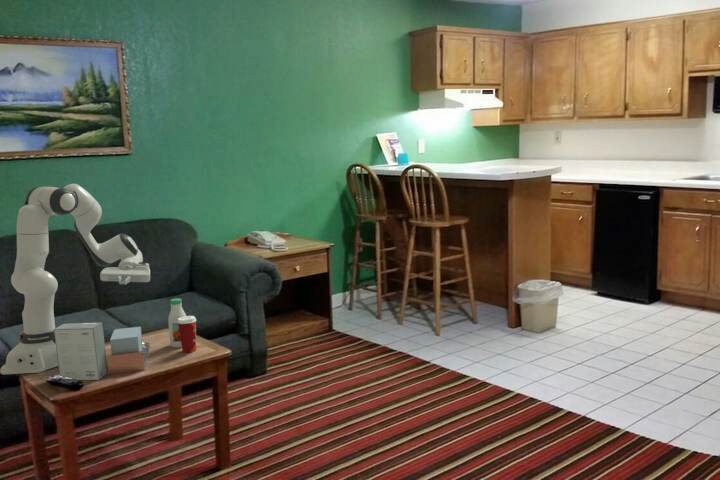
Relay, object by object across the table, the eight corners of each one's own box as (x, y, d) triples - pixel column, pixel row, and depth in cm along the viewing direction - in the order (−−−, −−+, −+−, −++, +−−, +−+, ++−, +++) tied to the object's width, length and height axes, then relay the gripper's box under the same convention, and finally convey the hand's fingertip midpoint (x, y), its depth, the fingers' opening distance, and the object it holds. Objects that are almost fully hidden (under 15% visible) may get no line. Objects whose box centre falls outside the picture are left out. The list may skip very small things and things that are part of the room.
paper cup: (201, 351, 268) (198, 318, 266) (183, 355, 264) (180, 321, 262) (194, 346, 275) (192, 314, 272) (177, 350, 271) (174, 317, 268)
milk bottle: (167, 348, 274) (163, 301, 271) (175, 342, 282) (171, 297, 278) (184, 348, 273) (180, 301, 270) (192, 342, 280) (188, 297, 277)
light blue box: (112, 362, 249) (110, 339, 247) (116, 350, 262) (114, 329, 261) (139, 359, 251) (137, 336, 250) (142, 348, 264) (140, 326, 263)
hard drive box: (109, 373, 247) (103, 322, 244) (99, 380, 240) (93, 328, 237) (70, 373, 249) (64, 322, 246) (59, 380, 242) (52, 328, 238)
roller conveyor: (108, 374, 246) (106, 356, 245) (117, 350, 274) (115, 334, 272) (144, 369, 249) (142, 352, 248) (149, 346, 276) (148, 331, 275)
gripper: (103, 261, 282) (96, 274, 269) (152, 263, 286) (147, 276, 273) (103, 275, 284) (96, 288, 271) (152, 276, 288) (148, 290, 275)
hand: (122, 282), depth 272 cm, fingers closed
